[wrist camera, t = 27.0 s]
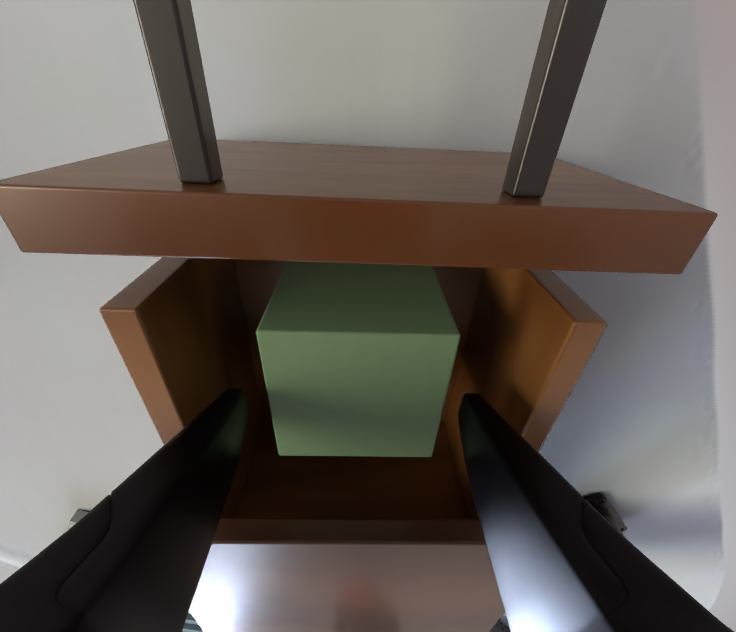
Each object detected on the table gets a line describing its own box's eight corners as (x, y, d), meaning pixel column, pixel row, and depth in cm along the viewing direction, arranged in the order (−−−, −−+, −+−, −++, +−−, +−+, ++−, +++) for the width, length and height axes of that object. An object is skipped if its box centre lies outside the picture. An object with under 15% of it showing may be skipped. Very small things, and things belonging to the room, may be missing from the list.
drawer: (121, -90, 8) (-405, -492, 3) (608, -58, 9) (1067, -338, 3) (243, 411, 19) (191, 551, 13) (464, 415, 19) (507, 552, 13)
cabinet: (228, 360, 18) (135, 542, 10) (482, 366, 18) (560, 544, 11) (263, 503, 26) (225, 662, 19) (438, 505, 26) (467, 660, 19)
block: (428, 253, 12) (462, 335, 8) (413, 357, 15) (432, 458, 11) (291, 249, 12) (254, 331, 8) (301, 354, 15) (278, 456, 11)
